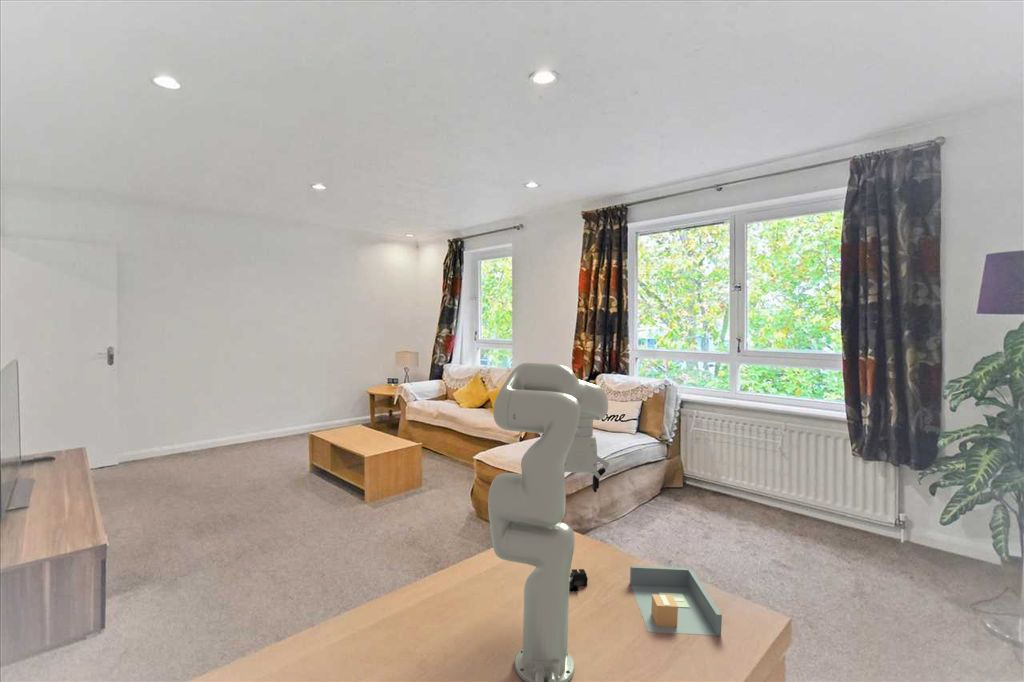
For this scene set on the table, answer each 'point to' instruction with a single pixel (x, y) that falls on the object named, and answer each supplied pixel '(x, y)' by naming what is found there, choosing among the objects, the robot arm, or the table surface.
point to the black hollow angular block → (577, 579)
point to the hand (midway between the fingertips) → (577, 490)
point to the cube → (664, 610)
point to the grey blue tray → (676, 599)
